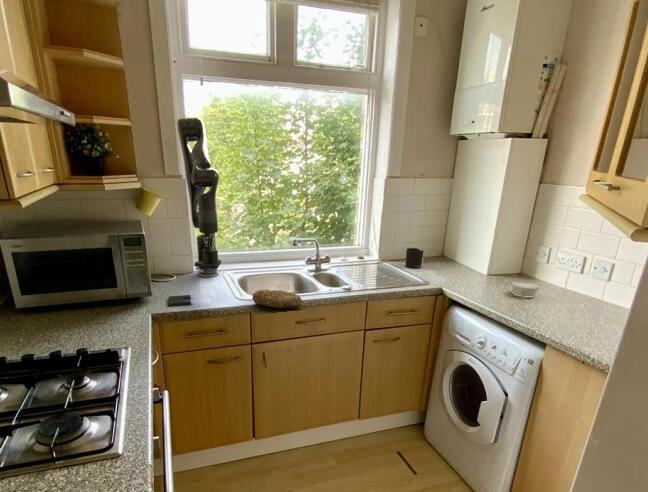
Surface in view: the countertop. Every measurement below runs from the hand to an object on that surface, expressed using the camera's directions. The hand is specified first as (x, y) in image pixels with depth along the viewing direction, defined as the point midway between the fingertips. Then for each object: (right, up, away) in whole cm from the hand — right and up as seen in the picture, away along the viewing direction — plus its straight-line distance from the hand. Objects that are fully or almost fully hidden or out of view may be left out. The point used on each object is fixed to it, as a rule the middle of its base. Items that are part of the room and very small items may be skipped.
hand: (210, 261), depth 177 cm
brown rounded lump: (+28, -19, -2) cm, 34 cm away
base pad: (-14, -17, +1) cm, 22 cm away
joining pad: (-2, -1, +1) cm, 2 cm away
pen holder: (+102, +6, +64) cm, 121 cm away
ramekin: (+141, -13, +18) cm, 143 cm away
